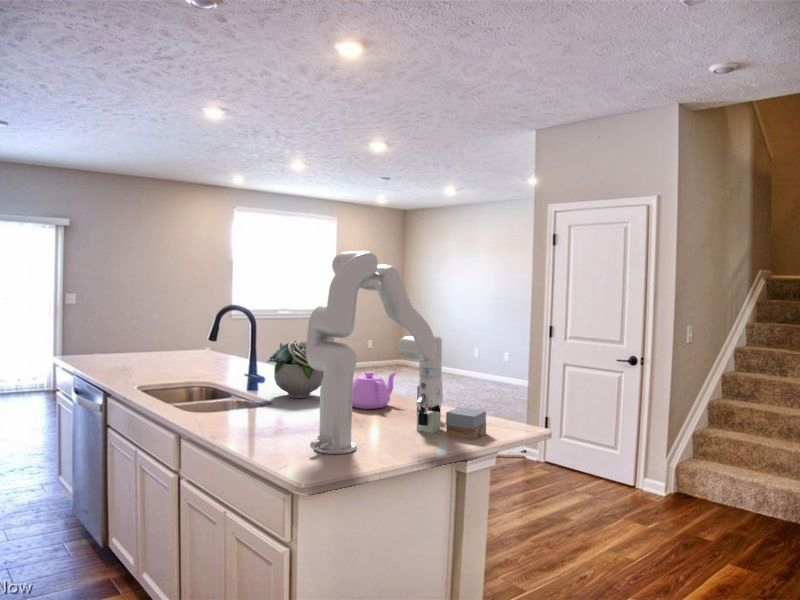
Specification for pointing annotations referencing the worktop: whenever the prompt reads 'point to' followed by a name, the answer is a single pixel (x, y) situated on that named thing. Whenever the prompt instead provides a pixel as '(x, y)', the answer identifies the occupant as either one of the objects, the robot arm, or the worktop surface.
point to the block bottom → (466, 432)
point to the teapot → (371, 391)
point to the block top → (466, 418)
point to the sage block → (430, 422)
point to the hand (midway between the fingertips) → (429, 422)
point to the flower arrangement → (295, 370)
